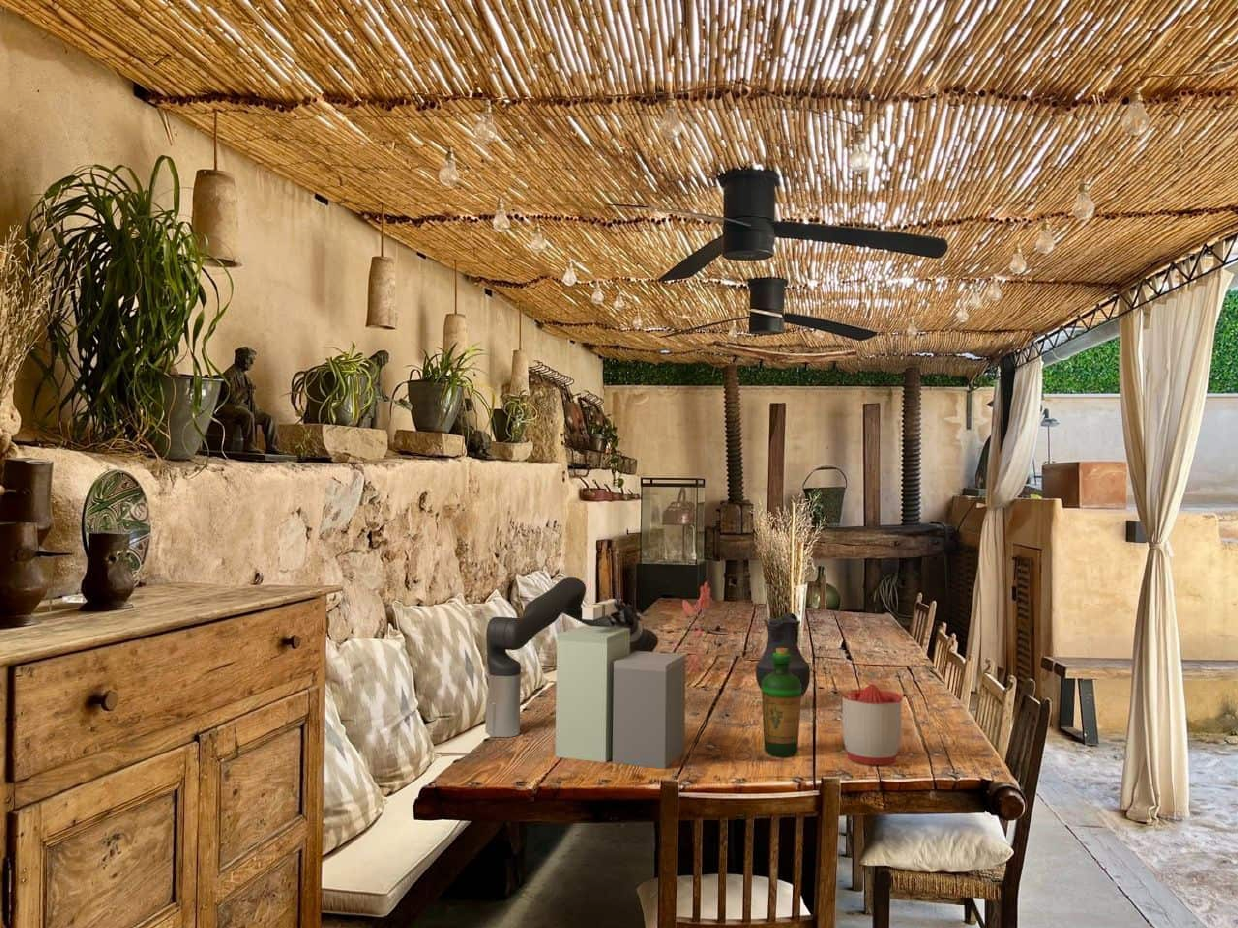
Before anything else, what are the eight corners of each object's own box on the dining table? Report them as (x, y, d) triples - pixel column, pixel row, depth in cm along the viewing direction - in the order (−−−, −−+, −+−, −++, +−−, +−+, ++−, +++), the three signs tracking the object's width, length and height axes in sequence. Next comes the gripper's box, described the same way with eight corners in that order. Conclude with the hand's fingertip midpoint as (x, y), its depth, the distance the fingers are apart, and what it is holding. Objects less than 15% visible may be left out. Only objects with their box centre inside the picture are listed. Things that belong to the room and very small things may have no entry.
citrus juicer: (851, 747, 268) (851, 674, 269) (911, 759, 257) (912, 683, 258) (824, 759, 256) (825, 683, 257) (887, 772, 245) (887, 692, 246)
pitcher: (748, 709, 314) (749, 615, 314) (769, 697, 332) (770, 609, 333) (800, 715, 305) (801, 619, 306) (819, 703, 324) (820, 612, 325)
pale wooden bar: (610, 609, 279) (611, 598, 279) (620, 610, 278) (621, 599, 278) (582, 618, 258) (582, 607, 259) (592, 619, 257) (593, 608, 258)
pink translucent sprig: (675, 676, 366) (678, 583, 367) (696, 665, 390) (699, 578, 390) (714, 681, 360) (717, 586, 361) (733, 669, 384) (736, 580, 385)
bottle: (770, 759, 255) (771, 652, 256) (754, 749, 265) (755, 646, 266) (807, 757, 258) (808, 651, 259) (790, 746, 268) (791, 645, 269)
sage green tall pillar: (581, 740, 273) (582, 625, 273) (628, 745, 268) (629, 628, 269) (555, 756, 256) (557, 634, 256) (605, 762, 251) (607, 637, 252)
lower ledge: (635, 745, 267) (636, 650, 268) (684, 751, 262) (685, 654, 263) (612, 762, 250) (614, 661, 251) (664, 768, 246) (666, 665, 246)
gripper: (607, 612, 292) (589, 587, 278) (651, 614, 287) (635, 590, 273) (602, 635, 288) (584, 612, 274) (647, 638, 284) (631, 615, 270)
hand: (610, 601), depth 274 cm, fingers closed on pale wooden bar, 3 cm apart
